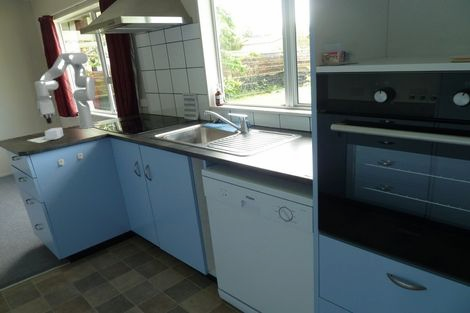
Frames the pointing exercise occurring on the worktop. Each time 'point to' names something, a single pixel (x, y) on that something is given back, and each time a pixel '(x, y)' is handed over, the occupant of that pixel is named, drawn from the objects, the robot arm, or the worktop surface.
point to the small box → (53, 133)
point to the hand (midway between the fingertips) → (49, 123)
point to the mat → (39, 139)
